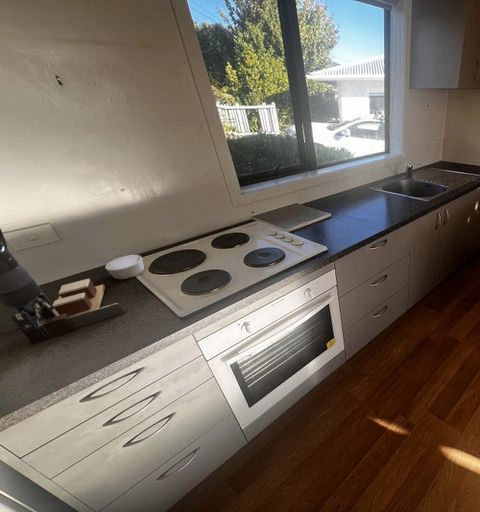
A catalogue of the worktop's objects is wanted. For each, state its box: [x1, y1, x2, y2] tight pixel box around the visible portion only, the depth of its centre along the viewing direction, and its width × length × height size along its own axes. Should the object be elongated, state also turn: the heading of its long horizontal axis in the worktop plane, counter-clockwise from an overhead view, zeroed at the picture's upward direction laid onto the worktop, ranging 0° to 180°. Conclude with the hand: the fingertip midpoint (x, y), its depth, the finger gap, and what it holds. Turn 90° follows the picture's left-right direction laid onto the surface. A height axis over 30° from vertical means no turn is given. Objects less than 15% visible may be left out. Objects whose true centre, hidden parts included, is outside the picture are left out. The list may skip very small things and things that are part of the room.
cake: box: [58, 278, 97, 299], centre depth 98 cm, size 7×5×5 cm
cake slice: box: [51, 293, 92, 316], centre depth 92 cm, size 7×3×5 cm, turn 124°
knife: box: [21, 302, 125, 344], centre depth 88 cm, size 21×3×5 cm, turn 124°
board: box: [51, 284, 106, 317], centre depth 97 cm, size 12×18×1 cm, turn 34°
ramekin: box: [104, 254, 145, 280], centre depth 113 cm, size 11×11×5 cm
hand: (49, 328), depth 85 cm, fingers open, 8 cm apart
